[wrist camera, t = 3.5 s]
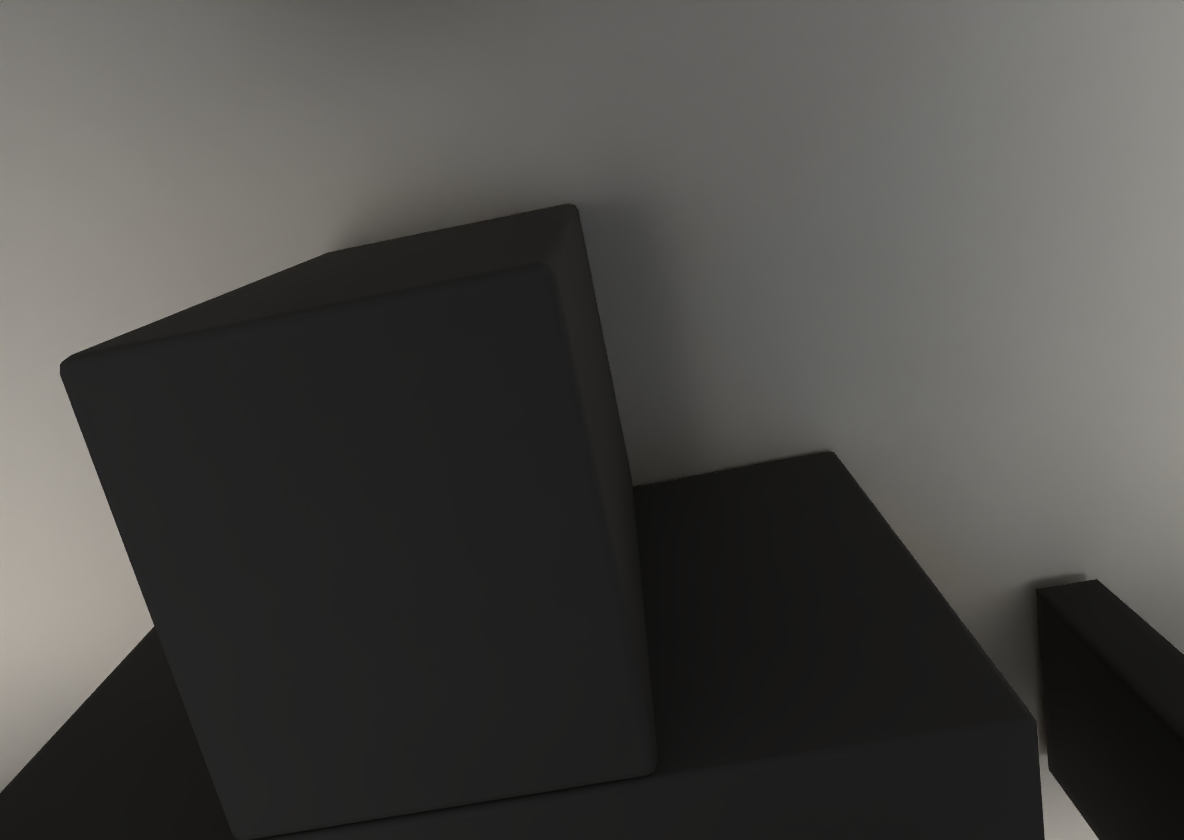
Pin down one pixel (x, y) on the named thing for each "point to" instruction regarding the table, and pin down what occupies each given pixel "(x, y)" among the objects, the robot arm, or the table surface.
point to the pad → (492, 591)
